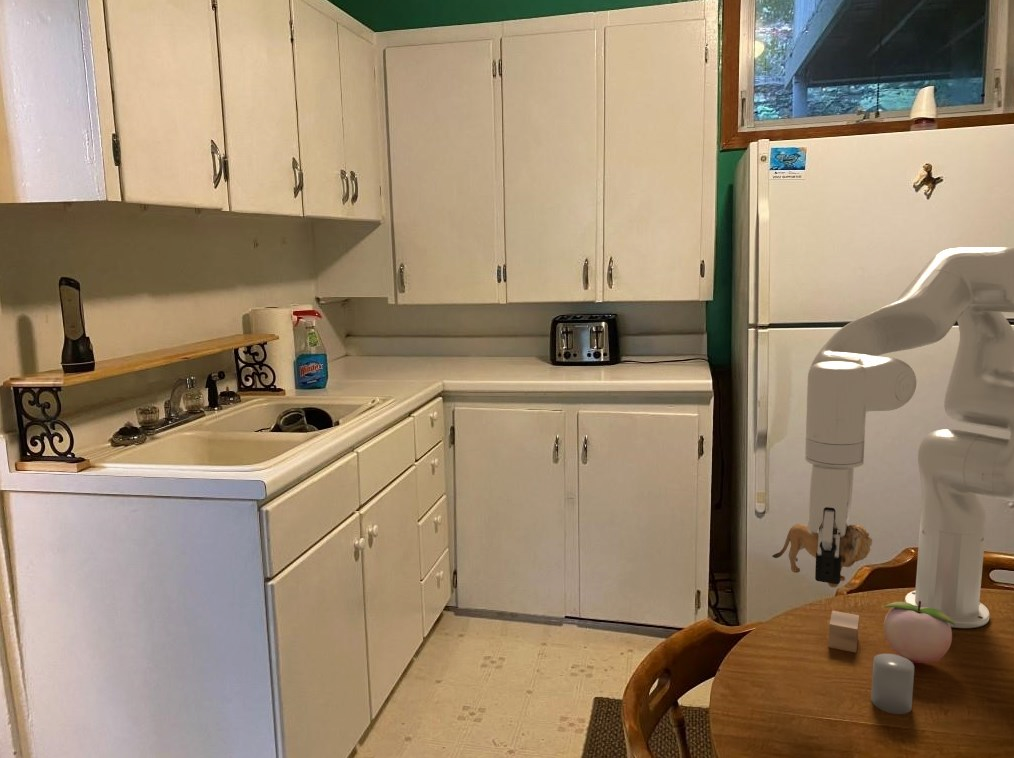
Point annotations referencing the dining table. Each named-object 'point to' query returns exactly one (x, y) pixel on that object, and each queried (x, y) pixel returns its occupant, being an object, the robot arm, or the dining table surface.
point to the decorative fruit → (917, 632)
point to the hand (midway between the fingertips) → (829, 570)
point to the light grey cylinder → (892, 683)
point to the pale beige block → (843, 631)
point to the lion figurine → (851, 544)
